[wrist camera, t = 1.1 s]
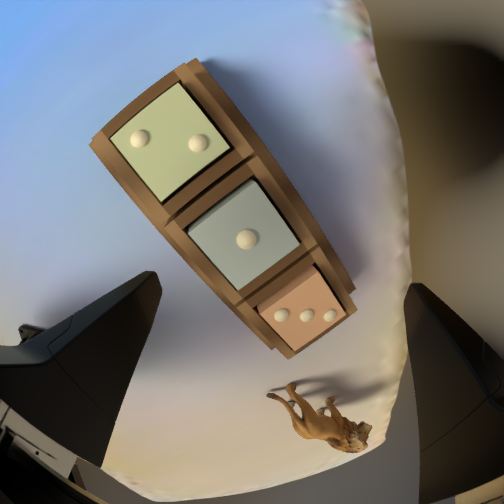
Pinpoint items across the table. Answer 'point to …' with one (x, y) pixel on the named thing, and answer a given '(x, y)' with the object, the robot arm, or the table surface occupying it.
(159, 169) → the button
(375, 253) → the table surface
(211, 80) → the button board
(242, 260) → the button
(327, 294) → the three-pip button
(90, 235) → the table surface
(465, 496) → the robot arm
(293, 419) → the lion figurine
